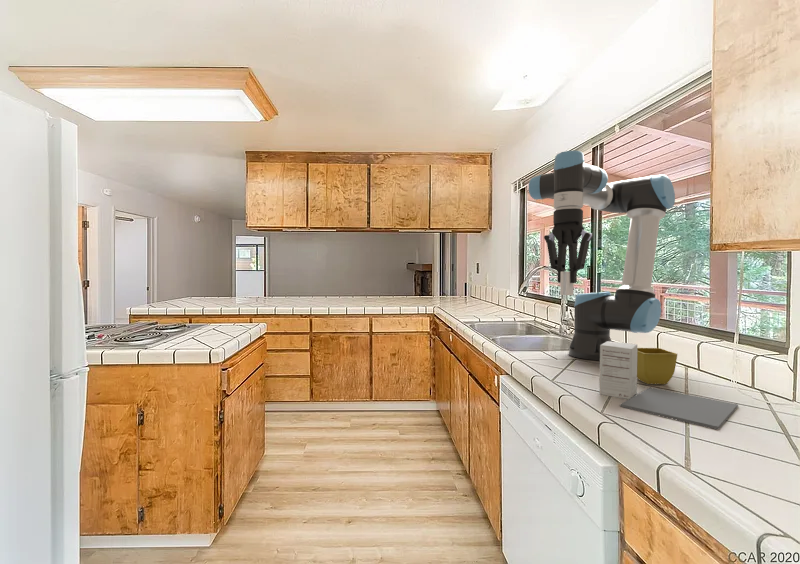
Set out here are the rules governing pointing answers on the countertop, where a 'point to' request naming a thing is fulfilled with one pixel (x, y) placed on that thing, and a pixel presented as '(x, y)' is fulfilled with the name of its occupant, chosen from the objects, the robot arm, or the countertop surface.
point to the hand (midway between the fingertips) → (566, 294)
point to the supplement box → (618, 369)
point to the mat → (682, 407)
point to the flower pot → (655, 365)
